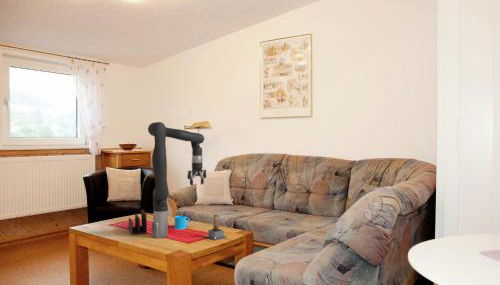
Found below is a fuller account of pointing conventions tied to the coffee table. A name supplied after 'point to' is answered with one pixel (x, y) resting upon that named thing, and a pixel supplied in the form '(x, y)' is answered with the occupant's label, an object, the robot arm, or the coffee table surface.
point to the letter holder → (138, 224)
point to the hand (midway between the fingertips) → (196, 184)
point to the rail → (216, 223)
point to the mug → (181, 222)
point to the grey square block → (216, 234)
